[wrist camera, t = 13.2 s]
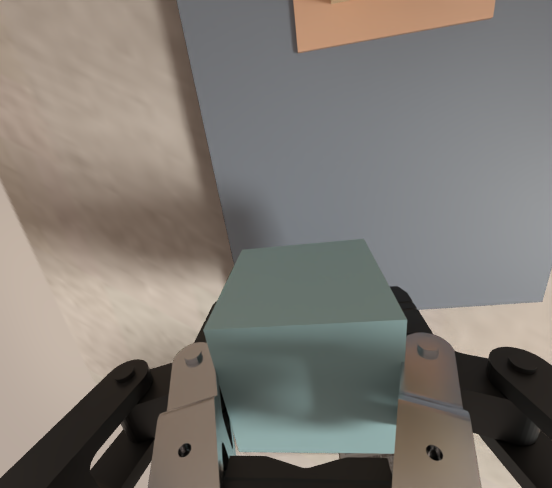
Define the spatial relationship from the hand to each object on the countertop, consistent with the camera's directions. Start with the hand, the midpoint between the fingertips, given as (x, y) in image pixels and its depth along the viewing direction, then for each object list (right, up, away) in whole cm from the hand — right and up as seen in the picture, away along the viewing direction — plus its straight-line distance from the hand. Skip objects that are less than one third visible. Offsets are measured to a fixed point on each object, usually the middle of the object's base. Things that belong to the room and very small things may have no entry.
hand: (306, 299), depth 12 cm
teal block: (0, 0, 0) cm, 0 cm away
